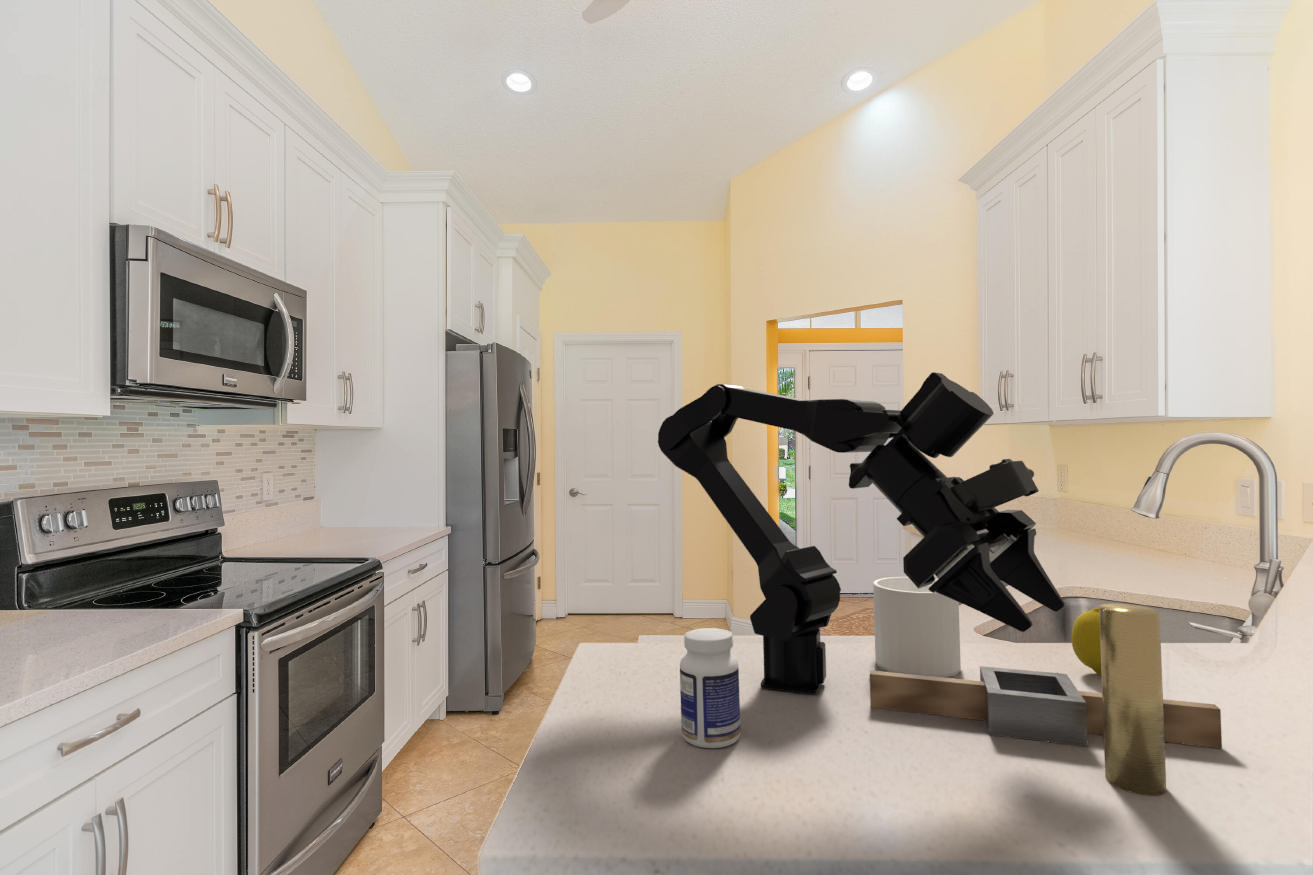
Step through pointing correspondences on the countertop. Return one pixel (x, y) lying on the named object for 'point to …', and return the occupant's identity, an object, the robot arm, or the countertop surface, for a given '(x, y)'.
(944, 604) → the mug
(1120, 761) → the hinge pin
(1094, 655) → the lemon
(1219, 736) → the hinge leaves
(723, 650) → the pill bottle
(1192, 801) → the countertop surface
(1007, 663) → the countertop surface
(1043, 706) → the gray square planter
